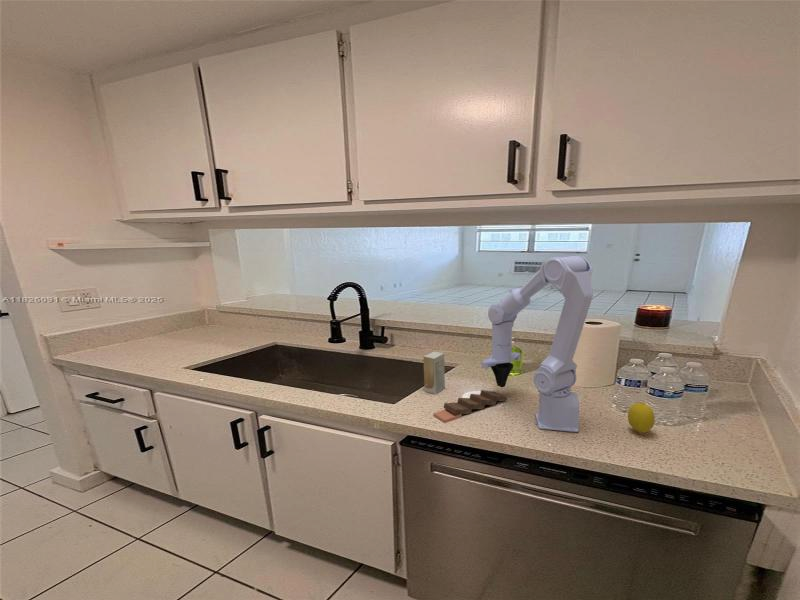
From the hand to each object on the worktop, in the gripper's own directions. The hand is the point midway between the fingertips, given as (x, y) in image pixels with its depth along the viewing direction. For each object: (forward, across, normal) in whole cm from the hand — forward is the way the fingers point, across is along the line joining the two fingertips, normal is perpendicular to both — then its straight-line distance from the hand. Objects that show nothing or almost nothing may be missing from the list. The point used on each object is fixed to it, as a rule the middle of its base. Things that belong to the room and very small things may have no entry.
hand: (501, 385), depth 112 cm
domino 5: (+3, 0, 0) cm, 3 cm away
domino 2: (+3, +14, 0) cm, 15 cm away
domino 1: (+4, +18, 0) cm, 18 cm away
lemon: (+4, -13, +34) cm, 36 cm away
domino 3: (+3, +9, 0) cm, 10 cm away
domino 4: (+3, +5, 0) cm, 6 cm away
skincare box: (+4, +13, -17) cm, 22 cm away
